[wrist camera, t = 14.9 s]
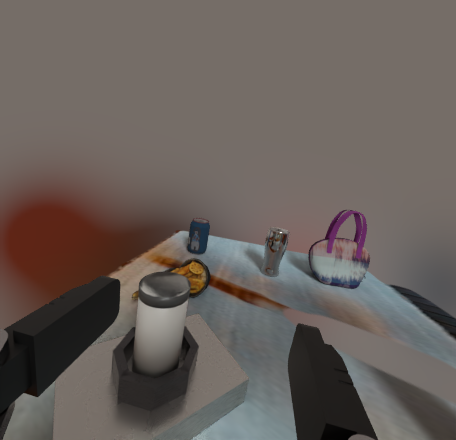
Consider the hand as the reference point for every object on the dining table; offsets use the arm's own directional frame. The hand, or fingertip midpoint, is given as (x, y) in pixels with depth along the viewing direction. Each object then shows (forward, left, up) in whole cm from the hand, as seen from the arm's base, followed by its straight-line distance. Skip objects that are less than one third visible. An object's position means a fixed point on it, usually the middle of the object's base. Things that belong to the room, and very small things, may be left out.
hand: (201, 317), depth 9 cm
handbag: (-70, -22, -23) cm, 77 cm away
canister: (-4, -14, -19) cm, 24 cm away
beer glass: (-50, -34, -23) cm, 65 cm away
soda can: (-34, -56, -23) cm, 70 cm away
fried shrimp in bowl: (-16, -33, -23) cm, 43 cm away
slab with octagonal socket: (-5, -14, -23) cm, 27 cm away
